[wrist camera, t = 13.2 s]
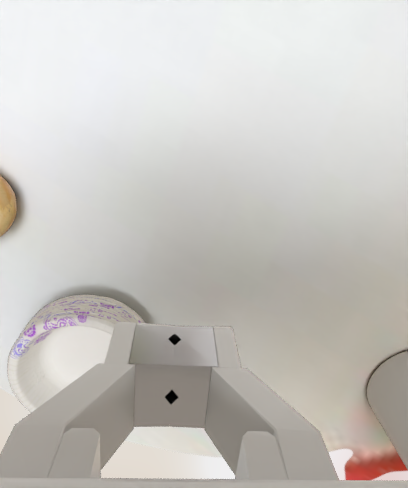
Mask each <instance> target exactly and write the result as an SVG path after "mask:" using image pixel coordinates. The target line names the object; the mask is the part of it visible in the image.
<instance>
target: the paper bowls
mask: <svg viewBox="0 0 408 488" xmlns="http://www.w3.org/2000/svg"><path fill="white" fill-rule="evenodd" d="M117 322H133V323H136V324H137V323H145V321H144V320H143V319H142V318H141V317H140V316H139V315H138V314H137V313H136V312H135V311H134V310H133V309H131V308H130V307H128V306H127V305H125V304H124V303H122V302H119V301H117V300H114V299H112V298H109V297H102V296H96V295H73V296H68V297H64V298H61V299H58V300H56V301H53V302H52V303H50V304H48V305H46V306H45V307H43V308H42V309H41V310H40V311H39V312H38V313H36V315H35V316H34V317H33V318H32V319H31V320H30V322H29V323H28V324H27V326H26V327H25V329H24V330H23V331H22V333H21V334H20V336H19V338H18V339H17V340H16V342H15V343H14V345H13V347H12V349H11V351H10V354H9V356H8V364H7V374H8V380H9V383H10V386H11V389H12V391H13V393H14V394H15V396H16V397H17V399H18V400H19V402H20V403H21V404H22V405H23V406H24V407H25V408H26V409H27V410H28V411H29V412H31V413H32V412H33V411H34V410H36V409H37V408H38V407H40V406H41V405H42V404H44V403H45V402H46V401H48V400H49V399H51V398H52V397H53V396H55V395H56V394H57V393H59V392H60V391H61V390H63V389H64V388H65V387H67V386H68V385H69V384H71V383H72V382H73V381H75V380H76V379H78V378H79V377H80V376H82V375H83V374H84V373H86V372H87V371H88V370H90V369H91V368H92V367H94V366H95V365H96V364H98V363H104V362H105V358H106V355H107V351H108V348H109V344H110V341H111V337H112V334H113V330H114V327H115V324H116V323H117Z"/></svg>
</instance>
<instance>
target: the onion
mask: <svg viewBox="0 0 408 488" xmlns="http://www.w3.org/2000/svg"><path fill="white" fill-rule="evenodd" d="M15 196H16V195H15V193H14V192H13V190H12V188H11V187H10V185H9V184H8V182H7V181H6V180H5V179H4V178H3V177H2V176H1V175H0V236H2V235H3V234H4V233H6V232H7V230H8V229H9V228H10V227H11V225H12V223H13V222H14V220H15V217H16V212H17V206H16V197H15Z"/></svg>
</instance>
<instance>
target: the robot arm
mask: <svg viewBox="0 0 408 488" xmlns="http://www.w3.org/2000/svg"><path fill="white" fill-rule="evenodd" d="M169 424H170V426H172V427H193V428H205V431H206V433H207V434H208V436H209V437H210V439H211V440H212V442H213V443H214V445H215V446H216V448H217V449H218V451H219V452H220V454H221V455H222V456H223V458H224V459H225V461H226V462H227V464H228V465H229V467H230V468H231V470H232V471H233V473H234V474H235V479H138V478H135V479H133V478H130V479H129V478H101V473H100V472H101V469H102V468H103V467H104V465H105V464H106V463H107V462H108V460H109V459H110V458H111V457H112V455H113V454H114V453H115V452H116V450H117V449H118V448H119V446H120V445H121V444H122V443H123V441H124V440H125V439H126V438H127V436H128V435H129V434H130V433H131V431H132V430H133V428H134V427H151V426H169ZM0 488H408V481H362V480H339V478H338V476H337V473H336V471H335V468H334V466H333V463H332V461H331V458H330V456H329V453H328V451H327V448H326V446H325V443H324V441H323V438H322V436H321V433H320V431H319V430H318V429H316V428H315V427H314V426H313V425H312V424H311V423H309V422H308V421H307V420H306V419H305V418H304V417H303V416H301V415H300V414H299V413H298V412H297V411H296V410H295V409H293V408H292V407H291V406H290V405H289V404H288V403H286V402H285V401H284V400H283V399H282V398H281V397H280V396H278V395H277V394H276V393H275V392H274V391H273V390H272V389H270V388H269V387H268V386H267V385H266V384H265V383H263V382H262V381H261V380H260V379H259V378H258V377H257V376H255V375H254V374H253V373H252V372H251V371H250V370H249V369H247V368H241V363H240V358H239V354H238V349H237V345H236V340H235V336H234V331H233V328H232V327H231V326H213V327H204V326H175V325H164V324H149V323H137V324H136V323H133V322H117V323H116V324H115V327H114V330H113V334H112V337H111V341H110V344H109V348H108V351H107V355H106V358H105V362H104V363H98V364H96V365H95V366H94V367H92V368H91V369H90V370H88V371H87V372H86V373H84V374H83V375H82V376H80V377H79V378H78V379H76V380H75V381H73V382H72V383H71V384H69V385H68V386H67V387H65V388H64V389H63V390H61V391H60V392H59V393H57V394H56V395H55V396H53V397H52V398H51V399H49V400H48V401H46V402H45V403H44V404H42V405H41V406H40V407H38V408H37V409H36V410H34V411H33V412H32V413H30V414H29V415H28V416H26V417H25V418H23V419H22V420H21V421H19V422H18V423H17V424H16V425H15V426H14V428H13V430H12V432H11V434H10V436H9V438H8V440H7V442H6V444H5V446H4V448H3V450H2V452H1V454H0Z"/></svg>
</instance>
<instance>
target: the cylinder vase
mask: <svg viewBox="0 0 408 488" xmlns="http://www.w3.org/2000/svg"><path fill="white" fill-rule="evenodd" d="M367 399H368V402H369V405H370V407H371V408H372V410H373V412H374V414H375V415H376V417H377V419H378V420H379V422H380V424H381V425H382V427H383V429H384V430H385V432H386V434H387V436H388V437H389V439H390V441H391V442H392V444H393V446H394V447H395V449H396V451H397V452H398V454H399V456H400V458H401V459H402V461H403V463H404V464H405V466H406V468H407V469H408V351H405V352H402V353H399V354H397V355H395V356H393V357H391V358H389V359H388V360H386V361H385V362H384V363H382V364H381V365H380V366H379V367H378V368H377V369H376V371H375V372H374V373H373V375H372V376H371V378H370V380H369V383H368V387H367Z"/></svg>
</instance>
